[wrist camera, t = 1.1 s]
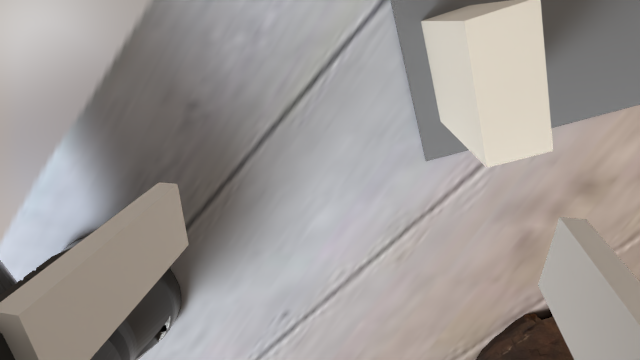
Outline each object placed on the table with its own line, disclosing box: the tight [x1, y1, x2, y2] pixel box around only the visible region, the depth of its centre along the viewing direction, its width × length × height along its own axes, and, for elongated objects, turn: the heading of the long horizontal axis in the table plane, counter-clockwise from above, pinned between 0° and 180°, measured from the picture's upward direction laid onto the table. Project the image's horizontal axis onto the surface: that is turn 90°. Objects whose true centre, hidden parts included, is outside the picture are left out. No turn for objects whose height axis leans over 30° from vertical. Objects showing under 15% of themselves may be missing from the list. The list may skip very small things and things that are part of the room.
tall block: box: [421, 0, 553, 168], centre depth 27 cm, size 4×9×12 cm, turn 17°
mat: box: [391, 0, 640, 161], centre depth 32 cm, size 22×16×1 cm
